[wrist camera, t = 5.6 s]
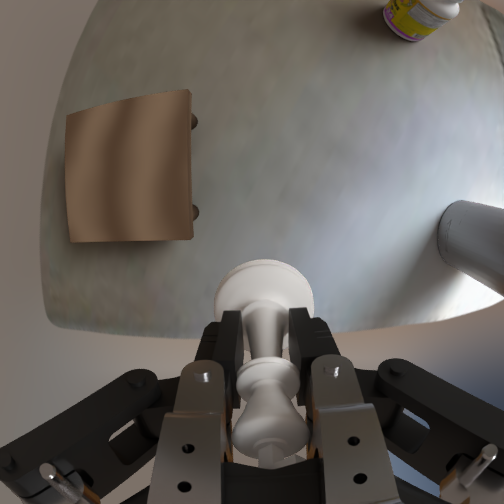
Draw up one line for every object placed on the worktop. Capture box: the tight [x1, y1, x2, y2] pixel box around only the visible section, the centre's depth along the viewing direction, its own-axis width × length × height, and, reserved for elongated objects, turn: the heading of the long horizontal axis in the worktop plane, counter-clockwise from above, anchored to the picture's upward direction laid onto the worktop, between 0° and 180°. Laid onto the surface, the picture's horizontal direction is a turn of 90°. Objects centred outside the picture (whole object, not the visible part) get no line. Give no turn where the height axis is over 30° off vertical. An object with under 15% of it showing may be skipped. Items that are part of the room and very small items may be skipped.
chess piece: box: [214, 259, 314, 469], centre depth 9 cm, size 5×5×10 cm
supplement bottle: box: [383, 0, 464, 41], centre depth 16 cm, size 7×7×13 cm
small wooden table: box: [65, 89, 199, 243], centre depth 25 cm, size 13×13×7 cm
